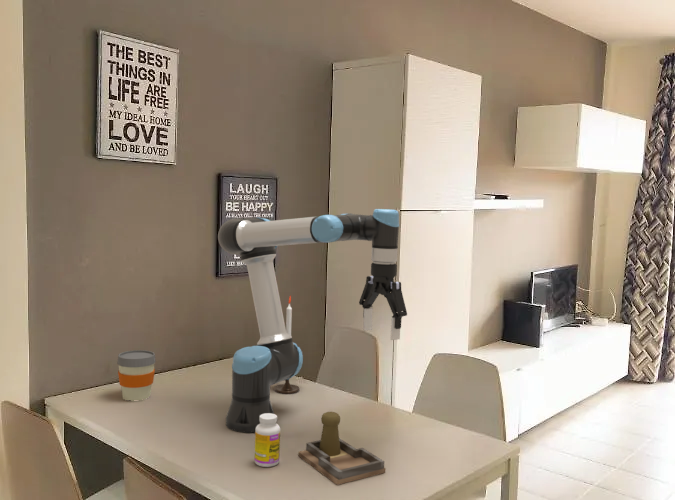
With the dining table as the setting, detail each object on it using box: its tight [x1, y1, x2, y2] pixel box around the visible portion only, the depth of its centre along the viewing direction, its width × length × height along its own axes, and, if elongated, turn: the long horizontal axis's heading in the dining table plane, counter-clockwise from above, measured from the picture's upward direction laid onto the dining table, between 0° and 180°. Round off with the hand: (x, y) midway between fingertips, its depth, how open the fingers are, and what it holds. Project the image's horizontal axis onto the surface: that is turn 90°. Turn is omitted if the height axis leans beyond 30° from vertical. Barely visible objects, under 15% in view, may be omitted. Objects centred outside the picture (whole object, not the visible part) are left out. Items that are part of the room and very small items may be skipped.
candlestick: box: [274, 295, 304, 395], centre depth 234 cm, size 11×11×35 cm
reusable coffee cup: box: [116, 349, 157, 402], centre depth 222 cm, size 13×13×15 cm
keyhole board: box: [297, 437, 386, 486], centre depth 173 cm, size 20×15×3 cm
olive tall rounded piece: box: [319, 411, 341, 456], centre depth 178 cm, size 6×6×11 cm
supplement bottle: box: [254, 413, 281, 468], centre depth 172 cm, size 7×7×13 cm
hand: (380, 334), depth 189 cm, fingers open, 13 cm apart
